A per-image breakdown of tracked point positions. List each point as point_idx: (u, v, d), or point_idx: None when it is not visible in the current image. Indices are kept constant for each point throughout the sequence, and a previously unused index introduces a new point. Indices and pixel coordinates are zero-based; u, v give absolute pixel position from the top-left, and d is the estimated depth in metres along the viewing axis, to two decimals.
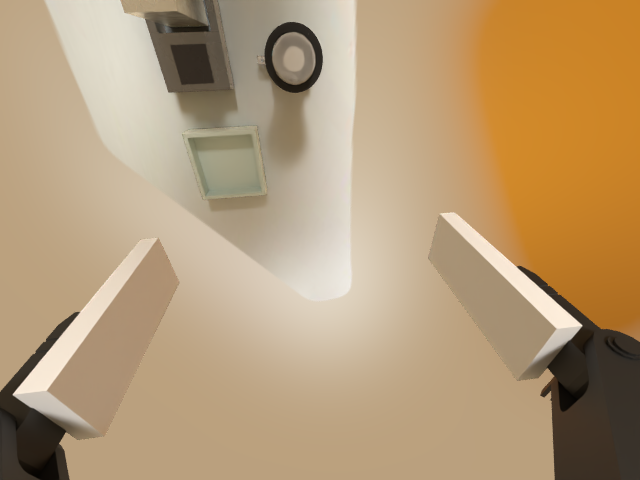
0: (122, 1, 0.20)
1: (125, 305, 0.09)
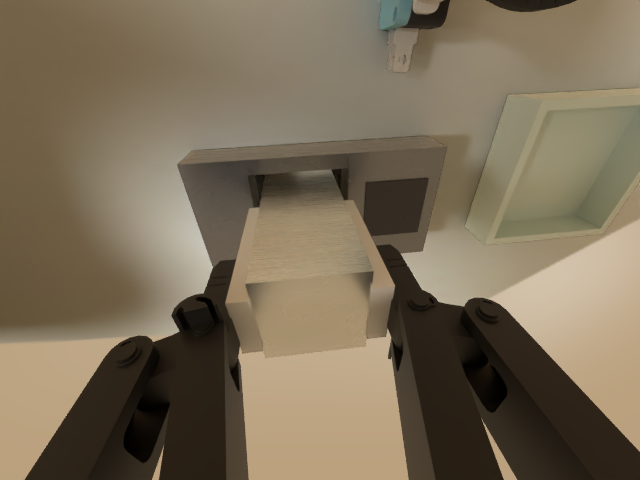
0: (349, 346, 0.10)
1: None
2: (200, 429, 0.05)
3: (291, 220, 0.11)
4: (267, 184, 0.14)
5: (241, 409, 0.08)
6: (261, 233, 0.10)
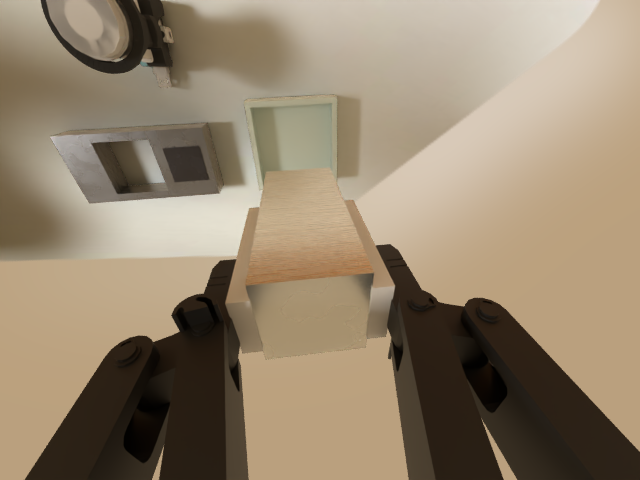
0: (349, 347, 0.10)
1: None
2: (200, 429, 0.05)
3: (291, 222, 0.11)
4: (267, 185, 0.14)
5: (241, 409, 0.08)
6: (261, 234, 0.10)
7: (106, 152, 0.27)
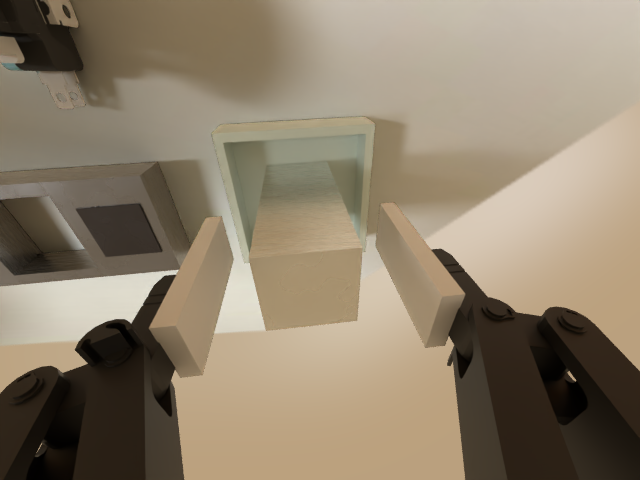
0: (342, 320, 0.11)
1: (208, 270, 0.10)
2: (115, 467, 0.05)
3: (290, 207, 0.12)
4: (267, 176, 0.15)
5: (175, 434, 0.07)
6: (262, 217, 0.11)
7: None
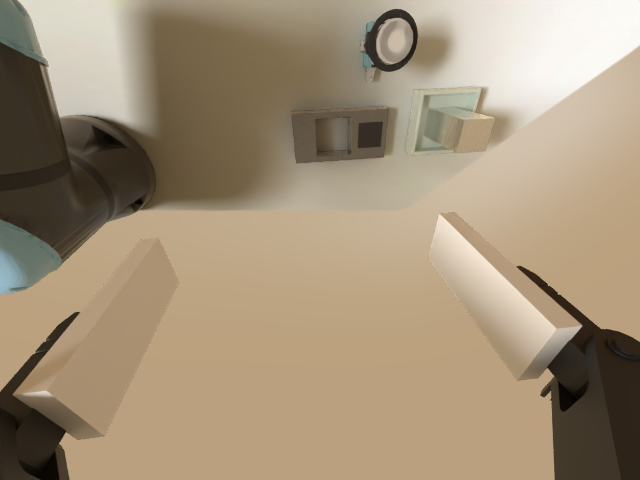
0: (480, 150, 0.34)
1: (125, 305, 0.09)
2: None
3: (460, 114, 0.35)
4: (436, 110, 0.38)
5: None
6: (454, 115, 0.34)
7: None
